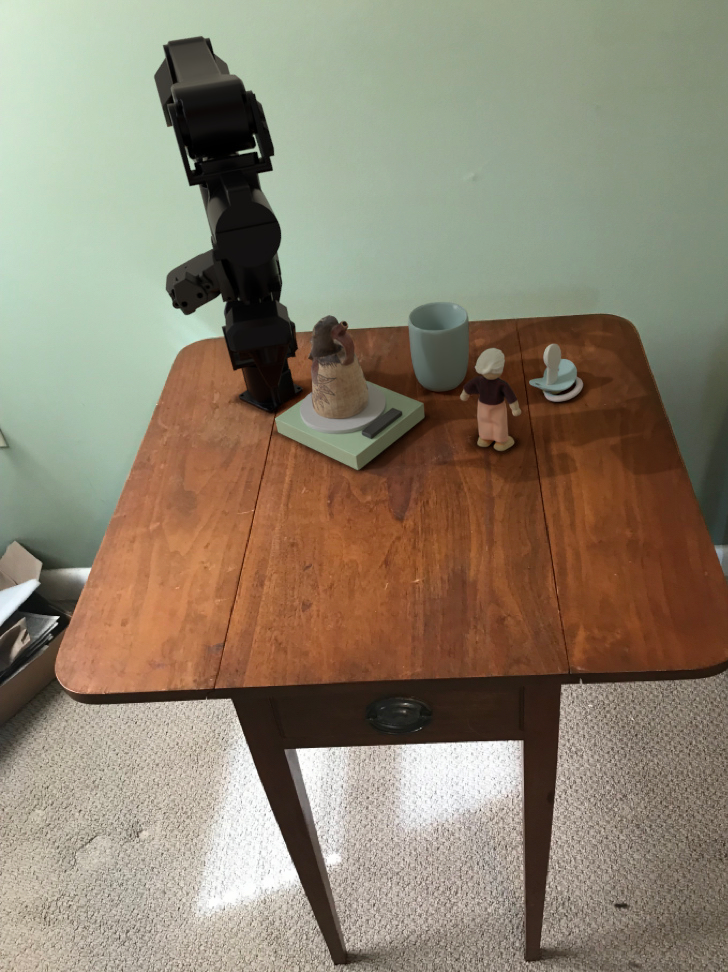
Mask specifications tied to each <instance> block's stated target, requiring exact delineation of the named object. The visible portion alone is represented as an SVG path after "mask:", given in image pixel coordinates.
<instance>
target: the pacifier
mask: <svg viewBox="0 0 728 972" xmlns="http://www.w3.org/2000/svg"><path fill="white" fill-rule="evenodd" d="M543 351H544V352H543V362H544V365H545V366H546V368H545V369H544V371H543V377H539V378H533V379H530V380H529V381H528V382H529V385H530V386H532V387H534V388H537V389H539V390H542V393H543V394H544V395H543V396H544V397H545V399H546V400H548V401H550V402H553V403H559V402H560V403H561V402H565V401H566V402H567V401H569V400H571V399H573V398H575V397H576V396H577V395H579V394H580V393H581V391H582V390H583V387H584V383H583V380H582V378H580V377H578V376H577V375H578V370H577V367H576V365H575V364H574V362H572V361H571V360H570V359H567V358H562V351H561V348H560V346H559V344H557V343H551V344H549V345H548V346H546V348H545V349H544V350H543ZM574 384H575V386H574V388H573V389H572V390H571V391H568V392H567V393H565V394H560V393H561V392H562V391H565V390H566V391H567V390H568V389H569V388H571V387H572V386H573V385H574ZM557 394H559V395H557Z"/></svg>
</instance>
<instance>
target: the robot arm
mask: <svg viewBox="0 0 728 972" xmlns="http://www.w3.org/2000/svg"><path fill="white" fill-rule="evenodd" d="M162 49H163V53H164V58H163V61H162V62H161V63H160V65H159V67H158V68H157V70H156V72H155V73H154V75H153V79H154V83H155V87H156V91H157V94H158V98H159V101H160V105H161V110H162V113H163V117H164V121H165V125H166V127H167V128H170V127H172V129H173V132H174V136H175V140H176V143H177V147H178V151H179V154H180V158H181V162H182V164H183V165H182V166H183V168H184V172H185V175H186V180H187V183H188V186H189V187H194V186H198V188H199V191H200V195H201V199H202V204H203V207H204V211H205V215H206V220H207V223H208V226H209V232H210V243H211V247H212V249H209V250H206V251H205V252H203V253H199V254H196V255H195V256H194V257H192V258H191V259H188V260H187V261H185V262H183V263H182V264H180V265H178V266H176V267H174V268H173V269H171V270H170V271H169V272H168V273H167V274H166V278H165V292H166V293H167V294H168V296H169V297H170V299H171V305H172V307H173V309H176V310H180V311H181V313H182V314H183V315H184V316H190V315H192V314H194V313H196V312H197V309H199V308H201V307H203V306H204V305H207V304H208V303H210V302H211V301H214V300H215V299H217V298H218V297H219V296H221V299H222V303H225V305H224V309H223V316H224V320H225V321H224V322H225V325H222V326H221V329H222V334H223V339H224V341H225V345H226V350H227V352H228V356H229V359H230V363H231V367H232V370H233V372H236V371H238V370H240V369H241V372H242V376H243V380H244V384H245V388H246V390H244V391H243V392H241V393H240V394H238V398H239V400H240V401H241V402H245V403H247V404H249V405H251V406H252V407H255V408H258V409H260V410H262V411H264V412H266V413H268V414H269V413H274V412H275V411H276V410H278V409H279V408H281V407H283V406H284V405H285V404H286V403H288V402H290V401H291V400H292V399H294V398H296V397H298V395H300V394H302V393H303V391H304V389H303V387H302V386H301V385H298V384H296V383H294V380H293V379H294V378H293V375H292V370H291V368H290V366H289V360H288V359H289V358H296V357H297V354H296V353H297V351H298V350H299V346H298V341H297V328H296V323H295V322H294V321H292V320H291V318H290V316H289V311H288V307H287V306H286V305H284V304H283V303H281V297H282V296H281V295H282V288H283V279H282V269H281V263H280V258H279V253H278V251H279V249H280V247H281V243H282V228H281V225H280V222H279V220H278V218H277V216H276V214H275V212H274V210H273V208H272V206H271V204H270V202H269V200H268V198H267V197H266V194H265V193H264V192H263V190H262V186H261V179H260V176H259V174H263V173H269V172H273V171H274V168H273V163H272V160H271V159H272V158H271V157H274V156H275V147H274V143H273V139H272V136H271V133H270V129H269V125H268V122H267V118H266V115H265V112H264V111H265V110H264V107H263V104H262V103H261V102H260V101H258V99H257V96H256V93H254V92H253V90H251V89H250V90H246V87H245V84H244V81H243V80H242V79H241V78H240V77H239V76H238V75H237V74H233V73H232V74H231V72H230V68H229V65H228V63H227V62H225V61H224V60H223V59H222V58H221V57H219V56H218V55H217V54H216V53H215V52H214V48H213V44H212V41H211V37H204V36H203V35H198V36H192V37H186V38H179V39H173V40H168V41H167V43H166V44H162ZM256 147H257V148H258V151H259V152H258V151H250V150H255V149H256ZM244 151H250V152H245V153H240V152H244ZM259 154H260V157H259ZM189 159H190V160H191V161H192V162H193V166H194V169H191V165H190V161H189Z"/></svg>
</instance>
